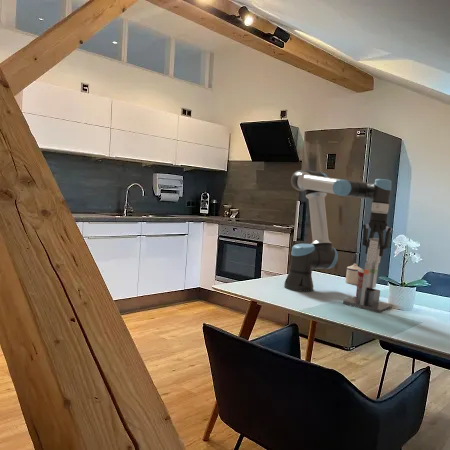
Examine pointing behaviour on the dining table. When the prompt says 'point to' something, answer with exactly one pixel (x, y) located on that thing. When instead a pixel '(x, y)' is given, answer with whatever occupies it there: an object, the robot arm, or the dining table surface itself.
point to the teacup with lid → (352, 274)
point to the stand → (368, 296)
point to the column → (373, 262)
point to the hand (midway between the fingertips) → (373, 261)
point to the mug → (360, 280)
